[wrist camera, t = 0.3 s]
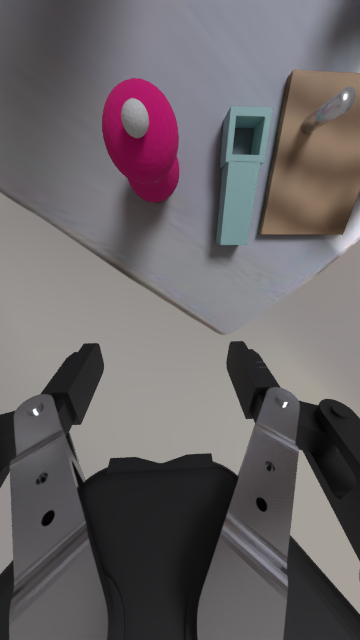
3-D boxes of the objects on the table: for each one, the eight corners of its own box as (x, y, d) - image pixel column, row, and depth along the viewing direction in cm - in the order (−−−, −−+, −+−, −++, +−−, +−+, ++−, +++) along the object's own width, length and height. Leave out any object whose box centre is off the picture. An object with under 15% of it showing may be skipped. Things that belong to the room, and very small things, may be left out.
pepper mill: (186, 188, 30) (209, 144, 12) (148, 213, 31) (121, 205, 14) (162, 135, 27) (150, -27, 9) (121, 165, 28) (43, 74, 11)
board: (288, 76, 25) (293, 70, 24) (394, 81, 25) (404, 75, 24) (258, 233, 34) (261, 234, 33) (337, 234, 34) (342, 234, 33)
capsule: (298, 119, 27) (341, 86, 20) (312, 119, 27) (358, 86, 20) (294, 137, 28) (333, 112, 21) (307, 138, 28) (350, 112, 21)
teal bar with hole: (242, 242, 34) (249, 244, 31) (213, 242, 34) (217, 245, 31) (260, 120, 27) (273, 107, 23) (223, 119, 26) (231, 106, 23)
